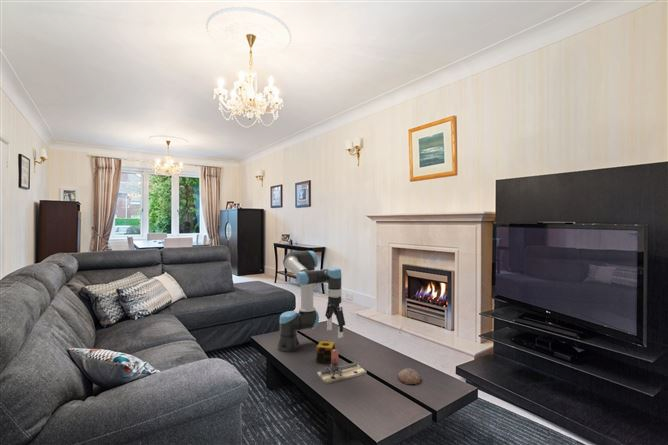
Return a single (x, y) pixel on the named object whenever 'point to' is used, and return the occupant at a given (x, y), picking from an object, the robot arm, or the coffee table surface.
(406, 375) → the decorative stone
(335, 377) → the board
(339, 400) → the coffee table surface
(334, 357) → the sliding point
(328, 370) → the rail
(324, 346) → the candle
